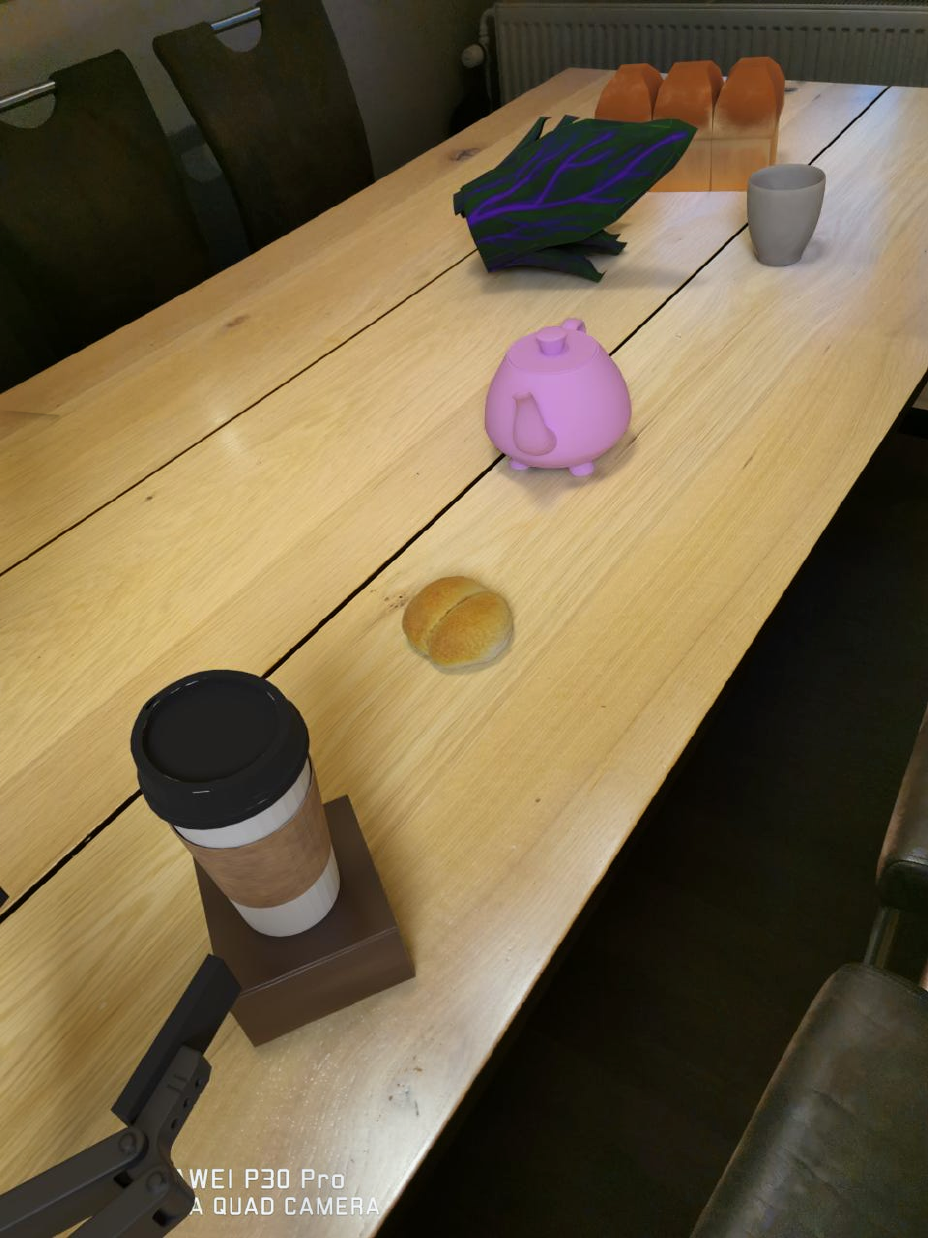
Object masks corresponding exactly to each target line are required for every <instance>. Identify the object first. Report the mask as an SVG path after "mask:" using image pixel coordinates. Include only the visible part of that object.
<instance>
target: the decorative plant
mask: <svg viewBox="0 0 928 1238" xmlns="http://www.w3.org/2000/svg"><path fill="white" fill-rule="evenodd" d="M552 118H553V116H539V117H538V118H537V120H536V121H535V123H534V124H533V125H532V127H531V128H530V129H529V130H528V131H527V133H526V134H525V135H524V137H523V138H522V139H521V140H520V141H519V143H518V144H516V146H515V147H514V148H513V149H512V150H511V151H510V153H509V154H507V156H505V157H504V158H503V160H501V161H500V163H498V164H497V165H496V166H495V167H494V168H493V169H490V170H487V172H484V173H483V174H481V175H479V176H477V177H475V178H473V179H471V180H470V181H468V182H467V183H464V184H463V185H462V186H461V187H459V191H457V192H455V193H453V195H452V196H453V197H452V203H453V204H452V207H453V212H454V216H455V217H456V216H458V215H460V216H461V218H462V219H465V221H466V224H467V227H468V230H469V234H470V236H471V239H472V241H473V243H474V245H475V247H476V249H477V251H478V253H479V256H480V258H481V260H482V263H483V265H484V267H485V269H486V272H487V273H488V274H491V273H493V272H497V271H499V270H502V269H504V268H508V267H513V266H518V265H526V266H535V267H542V268H547V269H553V270H558V271H564V272H567V273H570V274H573V275H577V276H580V277H584V278H587V279H590V280H592V281H594V282H596V283H599V282H600V281H601V280H602V278H603V277H604V276H605V274H606V273H607V272H608V269H606V270H605V271H603V272H599V271H598V269H597V268H596V267H595V265H594V263H592V261H591V260H589V259H588V258H587V257H585V256H589V255H600V254H601V255H605V254H606V255H614V256H619V255H620V254H621V253H622V252H623V251H624V249H625V248H626V246H627V245H628V243H629V242H627V241H619V240H618V238H619V237H620V236H621V235H622V233H615V234H613V233H609V232H608V231H606V230H605V229H606V228H608V227H610V225H612V224H614V223H616V222H618V220H619V219H621V218H622V217H623V216H624V215H626V213H627V212H628V211H629V210H631V208H632V207H633V206H634V205H635V204H636V203H638V201H639V200H640V199H642V198H643V197H644V196H645V195H646V194H647V193H648V192H647V191H648V190H650V189H651V188H652V187H653V186H654V185H655V184H656V183H657V182H658V181H659V180H660V179H662V178H663V177H664V176H665V175H666V174H667V173H669V172H670V171H671V170H672V169H673V168H674V167H675V166H676V164H677V163H678V162H679V160H680V159H681V158H682V156H683V155H684V153H685V152H686V150H687V149H688V147H689V145H690V143H691V141H692V139H693V137H694V136H695V134H696V132H697V130H698V128H696V127H694V126H692V125H690V124H688V123H686V122H684V121H682V120H680V119H674V118H666V119H656V120H652V121H647V122H642V123H639V122H627V121H615V120H603V119H594V118H590V117H589V118H588V117H585V118H583V119H581V117H580V116H574V115H571V114H564V115H563V117H561V119H560V121H559V122H558V123H557V125H555V127H554V128H553V129H552V130H549V131H548V132H547V133H545V134H544V135H542V134H543V130H544V127H545V123H546V122H547V121H548V120H549V119H552Z"/></svg>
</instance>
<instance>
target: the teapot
mask: <svg viewBox="0 0 928 1238" xmlns="http://www.w3.org/2000/svg"><path fill="white" fill-rule="evenodd" d="M632 411H633V410H632V402H631V396H630V393H629V388H628V386H627V383H626V380H625V378H624V376H623V373H622V372H621V370H620V368H619V367H618V365H617V363H616V362H615V361H614V360H613V358H612V357H611V356H610V354H609V353H608V352H607V350H606V348H604V347H603V346H602V345H601V343H600V342H599V341H598V340H597V339H596V338H594V336H592V335H591V334H588V333H587V327H586V323H585V322H584V321H583V320H581V319H580V318H577V317H571V318H570V317H569V318H566V319H565V320H563V321H562V323H561V324H560V325H559V326H558V325H550V326H549V325H548V326H544V327H542V328H540V329H537V331H534V332H531V333H529V334H526V335H524V336H522V337H521V338H519V339H517V340H516V341H514V342H513V344H511V346H510V347H509V348H508V349H507V351H506V353H505V354H504V356H503V357H502V359H501V361H500V363H499V365H498V367H497V368H496V371H495V373H494V374H493V376H492V379H491V382H490V384H489V387H488V390H487V394H486V397H485V404H484V420H483V421H484V429H485V433H486V435H487V437H488V439H489V440H490V442H491V443H492V445H493V446H494V447H496V448H497V450H499V451H500V452H501V453H502V454H504V455H505V456H507V457H509V462H508V467H510V468H511V469H513V470H516V471H521V470H527V469H529V468H531V467H533V468H539V469H565V468H567V469H568V471H569V473H570V474H572V475H574V476H577V477H583V476H587V475H590V474H592V473H593V472H594V471H595V468H596V467H595V463H594V462H593V461H594V460H595V459H596V460H597V459H598V458H600V457H601V456H603V455H604V454H605V453H607V452H608V451H609V450H610V449H612V447H614V445H616V444H617V443H618V442H619V441H620V439H621V438H622V437H623V436H624V434H626V431H627V429H628V428H629V426H630V423H631V419H632V413H633V412H632Z"/></svg>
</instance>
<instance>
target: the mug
mask: <svg viewBox="0 0 928 1238" xmlns="http://www.w3.org/2000/svg"><path fill="white" fill-rule="evenodd" d="M826 183H827V176H826V174H825V171H824V170H822V169H821V168H819V167H817V166H814V165H810V164H804V163H781V164H775V165H774V166H769V167H765V168H762V169H760V170H758V171H756V172H754V173H753V174H752V175H751V176H750V178H749V180H748V186H747V191H746V217H747V226H748V231H749V236H750V239H751V243H752V245H753V248H754V250H755V253H756V259H757V261H758V262H760V263H761V264H763V265H766V266H770V267H783V266H785V267H786V266H791V265H794V264H796V263H797V262H799V261H800V260H801V259H802V257H803V254H804V252H805V250H806V248H807V246H808V245H809V243H810V241H811V239H812V237H813V235H814V233H815V230H816V229H817V225H818V222H819V219H820V215H821V212H822V208H823V203H824V198H825V191H826Z"/></svg>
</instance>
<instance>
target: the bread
mask: <svg viewBox="0 0 928 1238" xmlns="http://www.w3.org/2000/svg"><path fill="white" fill-rule="evenodd" d="M784 75H785V74H784V72H783V71H782V68H781V65H780V64H779V63H777V62H776V61H775V60H774V59H773V58H771V57H770V56H753V57H741V58H740V59H738V60H737V62H735V63H734V65H733V66H732V67H731V68H730V70H729V72H728V74H727V76H726V78H725V80H724V76H723V73H722V69H721V68H720V67H719V65H717V64H716V63H715V62H714V60H712V59H709V60H691V61H676V62H674V63H673V65H672V66H671V67H670V70H669V71H668V73H667V75H666V76H665V79H664V78H663V76H662V73H661V72H660V71H659V70H658V69H656V68H655V67H654V66H651V65H650V64H649V63H648V62H646V63H645V62H644V63H643V62H642V63H629V64H628V63H626V64H621V65H620V66H619V67H618V69H617V70H616V72H615V73H614V74H613V75H612V76H611V78H610V79H609V81H608V83H607V84H606V85H605V86H604V87H603V89H602V90H601V93H600V96H599V98H598V102H597V104H596V107H595V110H594V118H593V119H603V120H615V121H627V122H639V123H642V122H647V121H652V120H656V119H666V118H674V119H680V120H682V121H684V122H686V123H688V124H690V125H692V126H694V127H696V128H698V130H697V132H696V134H695V136H694V137H693V139H692V141H691V143H690V145H689V147H688V149H687V150H686V152H685V153H684V155H683V156H682V158H681V159H680V160H679V162H678V163H677V164H676V166H675V167H674V168H673V169H672V170H671V171H670V172H669V173H667V174H666V175H665V176H664V177H663V178H662V179H660V180H659V181H658V182H657V183H656V184H655V185H654V186H653V187H652V188H651V189H650V190H648V191H647V192H646V193H674V192H675V193H677V192H679V193H680V192H682V193H683V192H687V193H688V192H747V186H748V180H749V178H750V176H751V175H752V174H753V173H754V172H756V171H758V170H760V169H762V168H765V167H769V166H774V165H776V162H777V157H778V156H777V155H778V144H779V143H778V142H779V132H780V121H781V116H782V113H783V109H784V107H785V100H786V99H785V97H786V95H785V94H786V93H785V92H786V78H785V76H784Z"/></svg>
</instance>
